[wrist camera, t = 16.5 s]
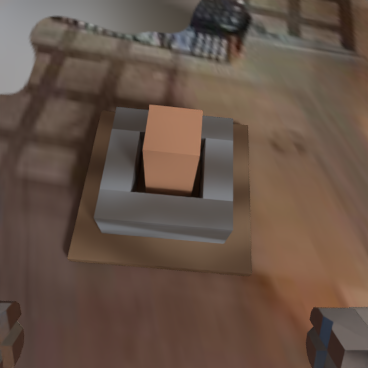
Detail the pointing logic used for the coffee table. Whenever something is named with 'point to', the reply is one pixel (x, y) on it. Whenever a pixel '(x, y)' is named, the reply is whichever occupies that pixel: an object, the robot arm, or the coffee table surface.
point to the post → (171, 150)
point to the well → (165, 202)
